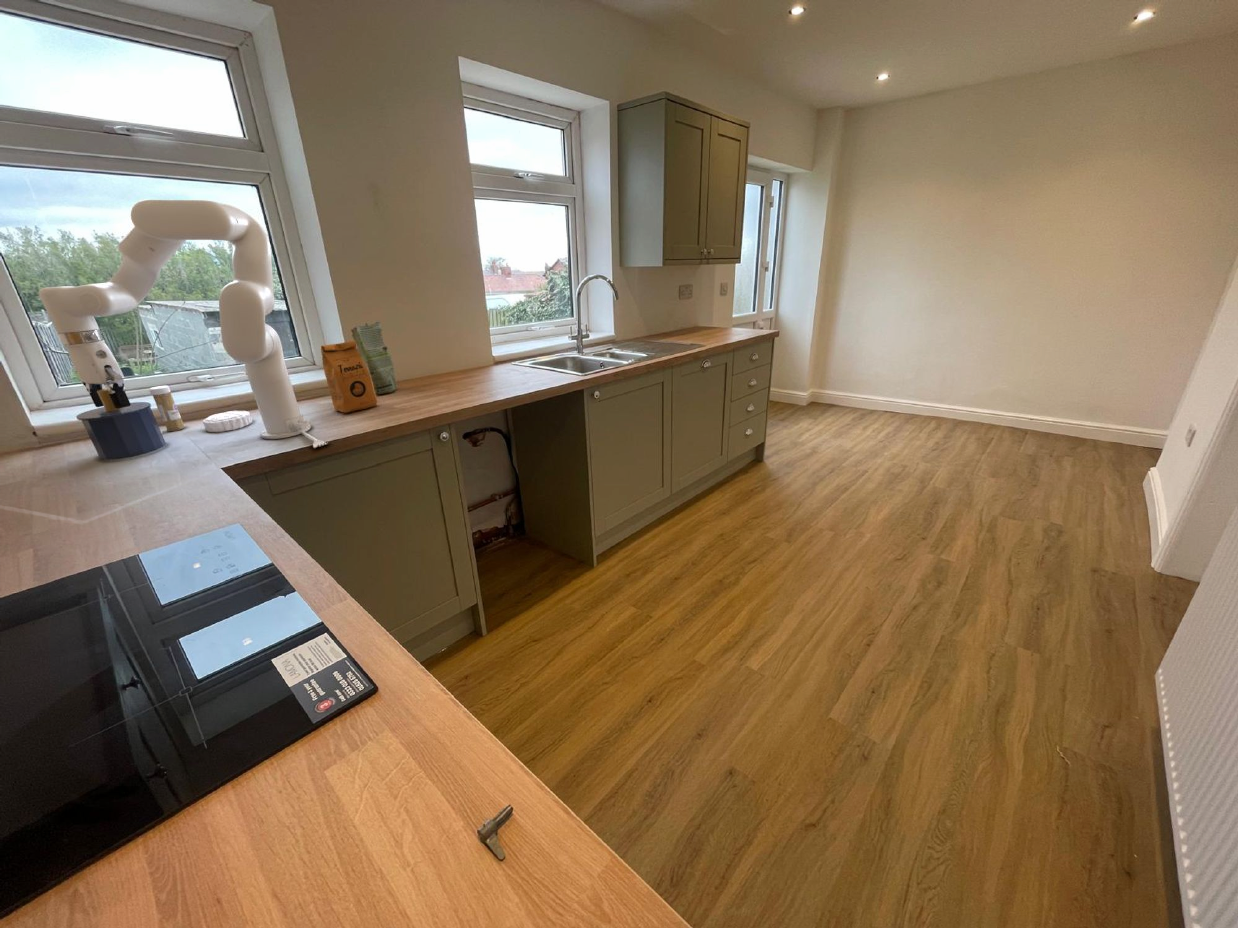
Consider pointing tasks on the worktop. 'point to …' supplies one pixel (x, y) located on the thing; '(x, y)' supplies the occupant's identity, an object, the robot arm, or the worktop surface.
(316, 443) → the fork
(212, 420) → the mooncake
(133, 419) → the tin
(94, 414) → the tin lid
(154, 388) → the sprinkles bottle
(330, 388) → the coffee package
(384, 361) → the pouch
